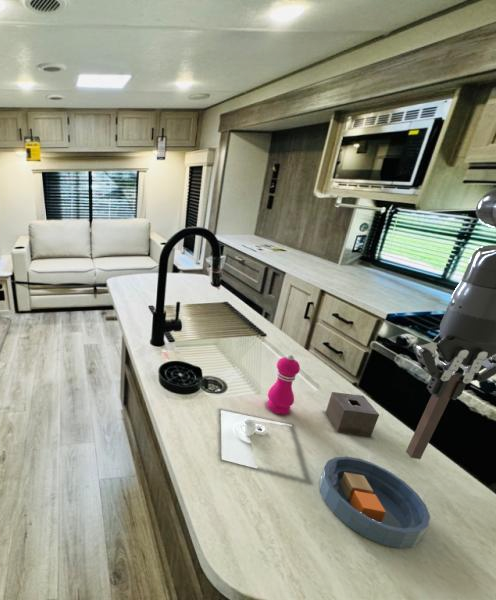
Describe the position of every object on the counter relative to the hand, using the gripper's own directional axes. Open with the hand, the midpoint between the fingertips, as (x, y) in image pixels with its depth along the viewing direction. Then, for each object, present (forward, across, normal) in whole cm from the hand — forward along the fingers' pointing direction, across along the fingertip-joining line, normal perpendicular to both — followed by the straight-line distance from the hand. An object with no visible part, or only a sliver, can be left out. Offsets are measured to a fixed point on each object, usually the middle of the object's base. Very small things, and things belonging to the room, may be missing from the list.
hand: (441, 395), depth 58 cm
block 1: (+31, -6, +2) cm, 32 cm away
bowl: (+32, -4, 0) cm, 32 cm away
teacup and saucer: (+32, -23, +15) cm, 42 cm away
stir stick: (+15, 0, 0) cm, 15 cm away
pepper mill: (+32, -14, +31) cm, 47 cm away
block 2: (+31, -6, -2) cm, 32 cm away
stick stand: (+32, +4, +28) cm, 42 cm away
